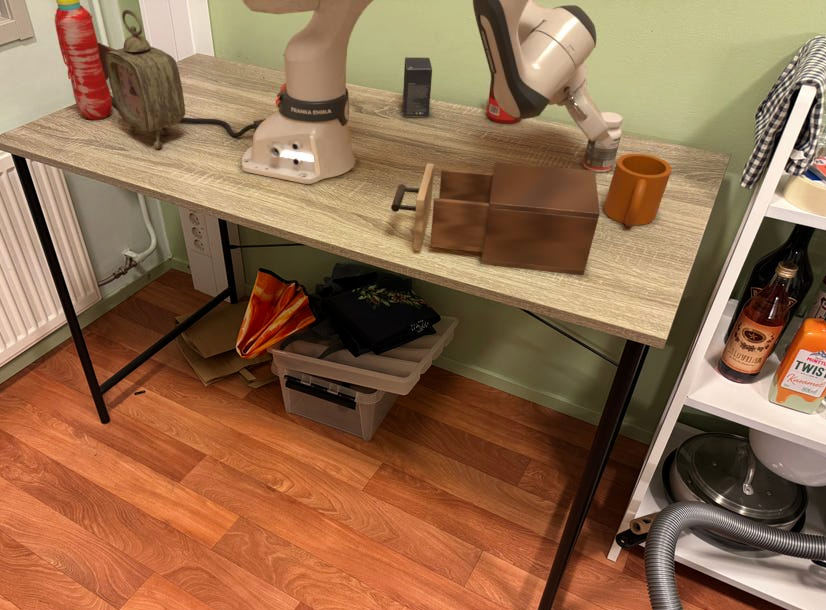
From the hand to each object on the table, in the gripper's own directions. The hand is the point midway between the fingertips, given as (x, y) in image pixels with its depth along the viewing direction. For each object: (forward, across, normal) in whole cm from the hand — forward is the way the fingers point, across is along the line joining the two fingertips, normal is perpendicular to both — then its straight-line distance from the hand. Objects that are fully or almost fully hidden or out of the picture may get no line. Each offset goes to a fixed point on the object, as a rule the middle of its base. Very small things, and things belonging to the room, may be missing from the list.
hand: (603, 132), depth 128 cm
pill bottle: (+6, 0, +5) cm, 7 cm away
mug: (+6, -19, +4) cm, 20 cm away
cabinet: (-7, -29, +17) cm, 34 cm away
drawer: (-17, -27, +25) cm, 41 cm away
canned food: (-6, +24, +16) cm, 29 cm away
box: (-20, +27, +29) cm, 45 cm away
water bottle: (-70, +24, +80) cm, 109 cm away
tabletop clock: (-59, +11, +68) cm, 91 cm away
